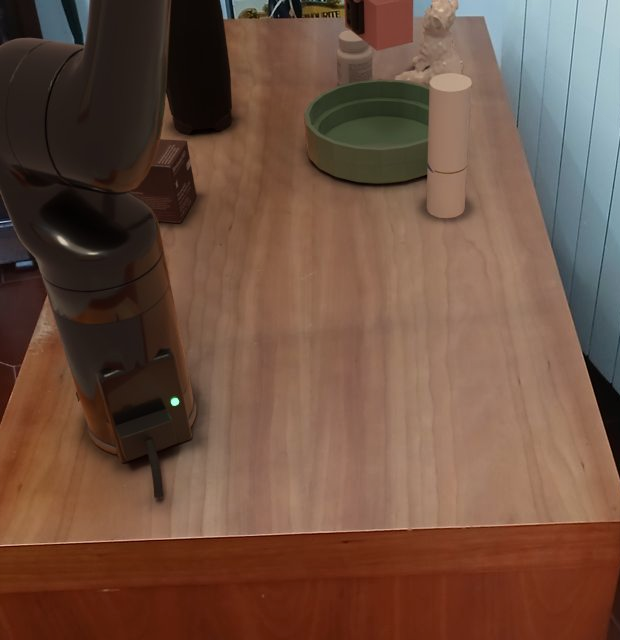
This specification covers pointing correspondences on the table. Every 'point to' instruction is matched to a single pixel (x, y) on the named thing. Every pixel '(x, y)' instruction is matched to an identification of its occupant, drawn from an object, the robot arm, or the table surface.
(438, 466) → the table surface
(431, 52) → the white creature statuette
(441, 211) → the tube
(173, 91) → the portable speaker
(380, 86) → the bowl
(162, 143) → the box
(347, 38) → the pill bottle
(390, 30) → the eraser
